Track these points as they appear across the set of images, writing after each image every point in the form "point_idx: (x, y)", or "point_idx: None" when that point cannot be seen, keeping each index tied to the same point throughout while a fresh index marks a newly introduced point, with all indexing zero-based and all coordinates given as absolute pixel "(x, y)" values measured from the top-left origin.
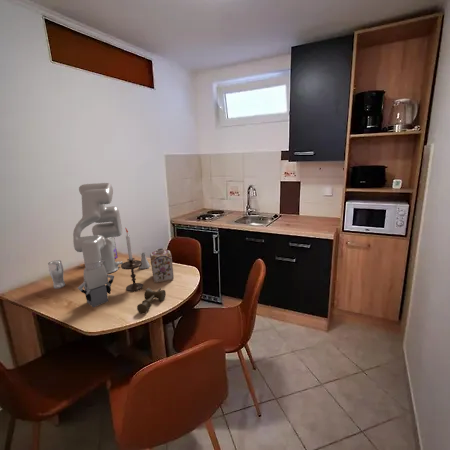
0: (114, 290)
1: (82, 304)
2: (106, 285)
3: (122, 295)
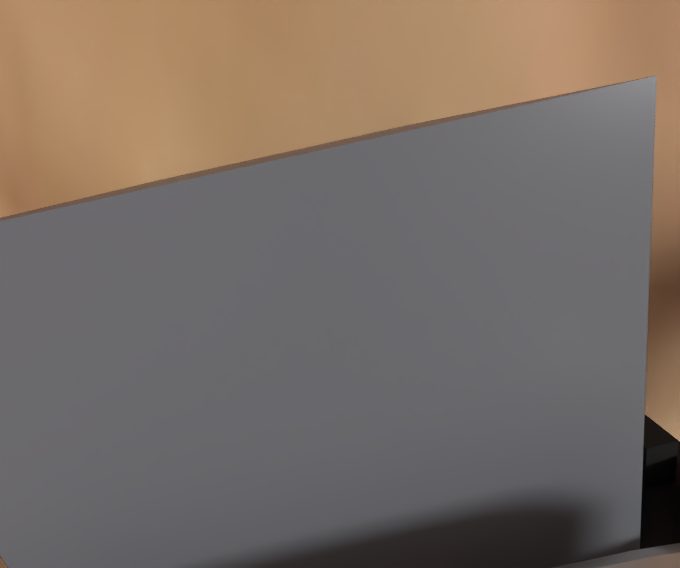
0: (665, 7)
1: None
2: (649, 475)
3: (655, 304)
